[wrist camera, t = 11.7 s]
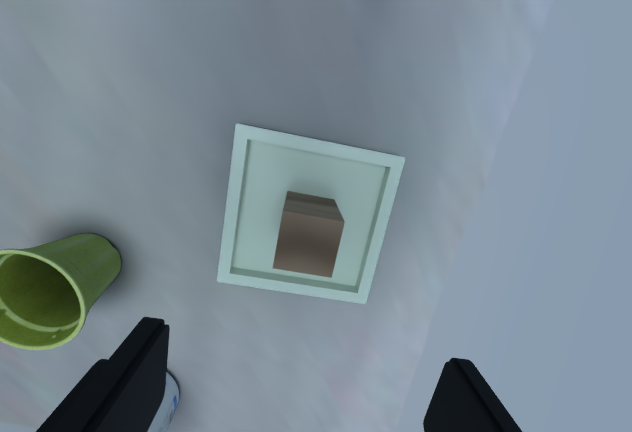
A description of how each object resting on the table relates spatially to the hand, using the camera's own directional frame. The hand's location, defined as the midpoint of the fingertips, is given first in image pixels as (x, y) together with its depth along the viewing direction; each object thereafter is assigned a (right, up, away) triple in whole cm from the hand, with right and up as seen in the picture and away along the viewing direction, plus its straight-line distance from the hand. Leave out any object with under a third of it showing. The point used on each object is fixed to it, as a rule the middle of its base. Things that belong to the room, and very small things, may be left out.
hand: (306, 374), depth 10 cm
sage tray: (-1, +5, +23) cm, 23 cm away
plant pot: (-24, +1, +23) cm, 33 cm away
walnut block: (-1, +5, +22) cm, 23 cm away
